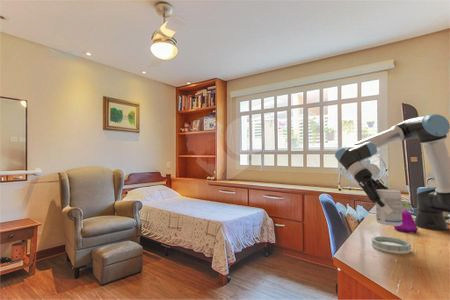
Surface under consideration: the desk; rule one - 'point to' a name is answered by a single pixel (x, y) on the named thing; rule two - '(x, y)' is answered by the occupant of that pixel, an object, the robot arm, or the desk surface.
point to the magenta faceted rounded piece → (407, 222)
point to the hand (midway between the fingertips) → (396, 211)
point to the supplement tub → (394, 203)
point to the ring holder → (391, 244)
